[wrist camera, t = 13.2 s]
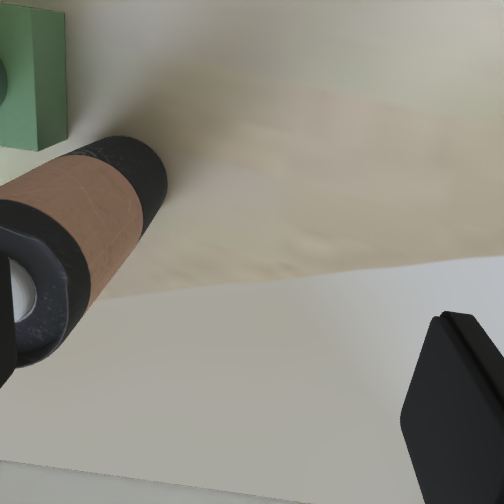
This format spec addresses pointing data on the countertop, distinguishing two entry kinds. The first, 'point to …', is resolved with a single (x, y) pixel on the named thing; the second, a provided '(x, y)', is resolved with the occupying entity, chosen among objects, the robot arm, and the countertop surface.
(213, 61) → the countertop surface
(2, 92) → the steel flask
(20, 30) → the green block
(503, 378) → the robot arm
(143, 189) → the travel mug
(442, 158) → the countertop surface
